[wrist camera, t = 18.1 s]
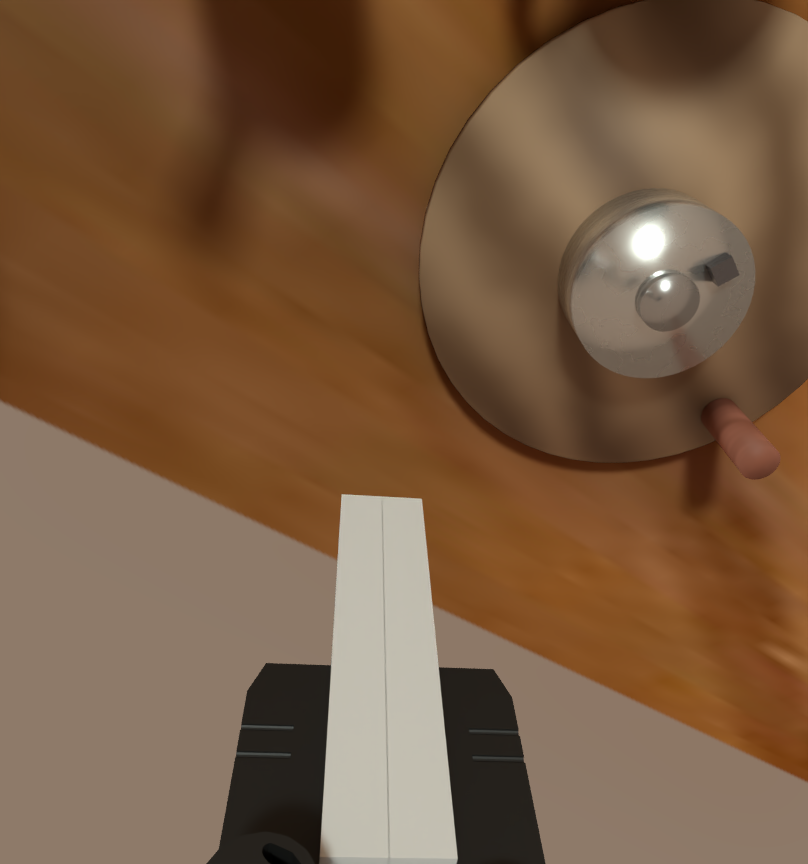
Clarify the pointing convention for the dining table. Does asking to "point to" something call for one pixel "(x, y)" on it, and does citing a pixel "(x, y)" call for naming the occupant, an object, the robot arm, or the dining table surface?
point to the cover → (655, 282)
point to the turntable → (602, 182)
